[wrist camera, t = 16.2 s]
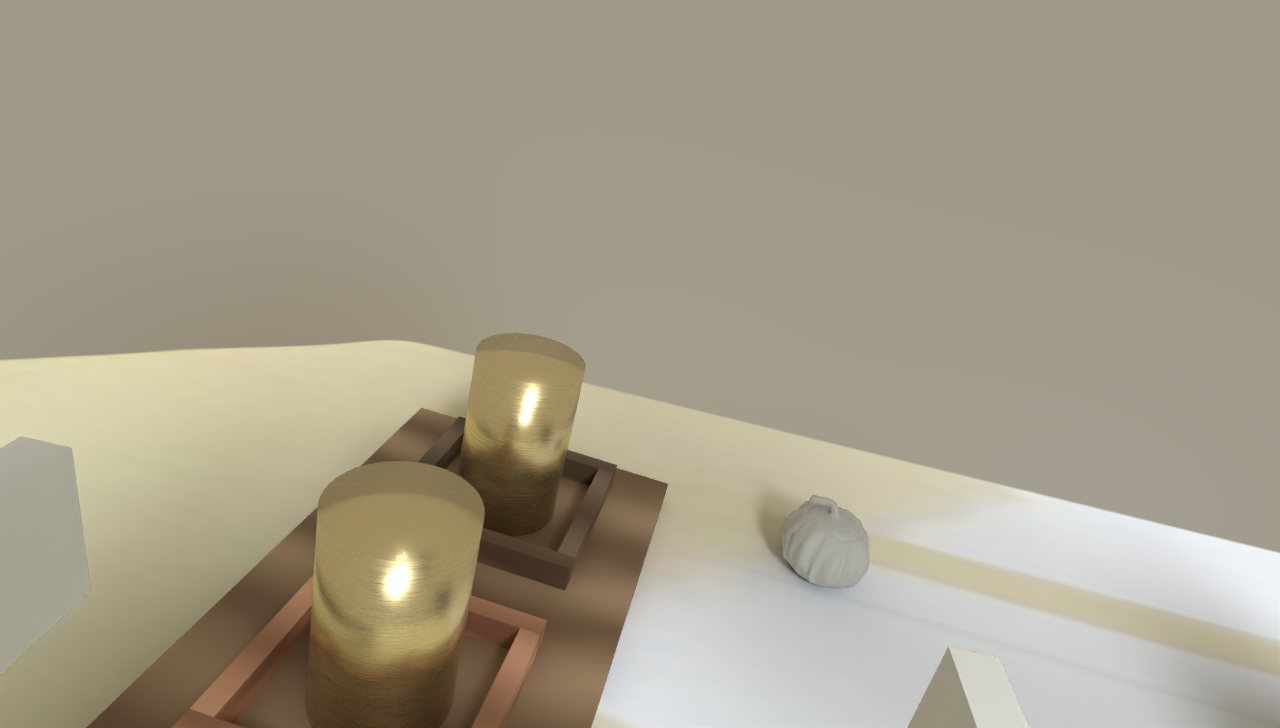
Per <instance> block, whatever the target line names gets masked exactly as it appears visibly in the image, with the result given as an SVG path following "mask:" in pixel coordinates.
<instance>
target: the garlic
mask: <svg viewBox="0 0 1280 728" xmlns="http://www.w3.org/2000/svg"><path fill="white" fill-rule="evenodd" d="M781 539H782V549H783V557H784V559H785V560H786V561H788V562H789V564H790V565H791V566H792V567H793V569H794V570H795V572H796V573H797V574H798V575H800V576H801V577H803V578H804V579H806V580H807V581H809V582H811V583H813V584H816V585H820V586H824V587H838V588H848V587H852V586H854V585H855V584H857V583H858V582H859V581H860V580H861V578H862V577H863V576H864V574H865V573H866V571H867V569H868V566H869V539H868V536H867V533H866V531H865V530H864V528H863V527H862V524H861V522H860V521H859V519H857V518H856V517H855V516H854V515H853V514H852V513H850V512H849V511H848V510H846V509H842V508H840V507H837V504H836V503H835V502H834V501H833V500H831V499H829V498H824V497H819V496H815V495H813V496H812V497H811V498H810V501H806V502H805V503H804V504H803V505H802V506H801V507H800V508H799V509H798V510H796V511H794V512H792V513H791V514H790V515H789V516H788V518H787V519H786V521H785V523H784V525H783V527H782V531H781Z"/></svg>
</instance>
